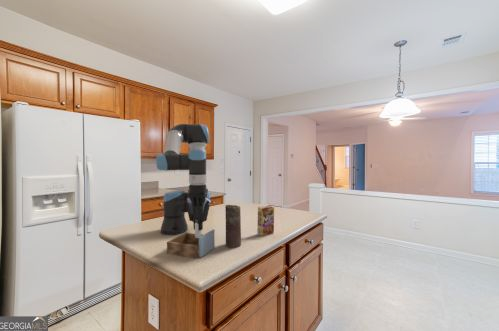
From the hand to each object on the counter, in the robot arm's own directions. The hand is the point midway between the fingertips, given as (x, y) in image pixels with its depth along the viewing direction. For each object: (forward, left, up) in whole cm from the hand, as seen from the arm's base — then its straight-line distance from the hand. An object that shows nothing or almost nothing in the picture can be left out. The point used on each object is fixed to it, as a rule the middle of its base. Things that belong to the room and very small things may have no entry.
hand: (198, 236), depth 102 cm
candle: (+12, +12, -8) cm, 18 cm away
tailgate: (+4, 0, -6) cm, 8 cm away
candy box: (+21, +36, -8) cm, 42 cm away
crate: (-3, 0, -7) cm, 8 cm away
